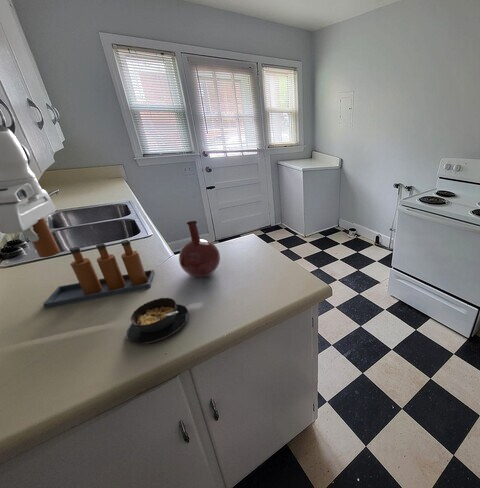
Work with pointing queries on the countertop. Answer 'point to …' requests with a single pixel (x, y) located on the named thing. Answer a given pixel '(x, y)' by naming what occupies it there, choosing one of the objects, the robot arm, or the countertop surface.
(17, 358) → the countertop surface
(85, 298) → the tray
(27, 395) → the countertop surface
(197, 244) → the round-bottom flask
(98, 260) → the bottle
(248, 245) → the countertop surface
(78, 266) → the bottle
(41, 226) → the loose bottle
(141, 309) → the soup bowl
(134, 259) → the bottle
